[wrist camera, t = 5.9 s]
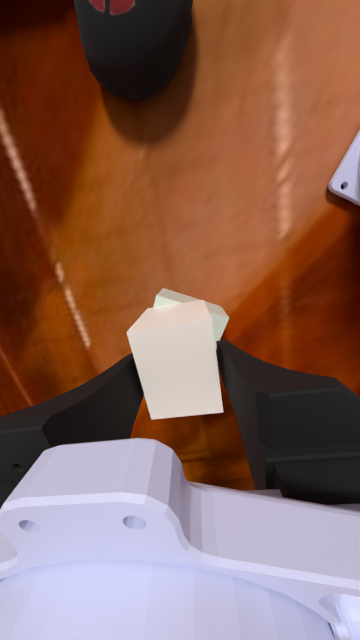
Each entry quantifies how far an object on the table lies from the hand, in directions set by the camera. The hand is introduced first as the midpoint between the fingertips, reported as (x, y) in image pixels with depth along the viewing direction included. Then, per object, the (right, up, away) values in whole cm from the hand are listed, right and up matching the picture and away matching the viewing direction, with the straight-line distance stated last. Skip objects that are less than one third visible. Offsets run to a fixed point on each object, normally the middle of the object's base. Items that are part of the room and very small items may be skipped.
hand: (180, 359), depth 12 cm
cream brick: (0, +1, +3) cm, 3 cm away
